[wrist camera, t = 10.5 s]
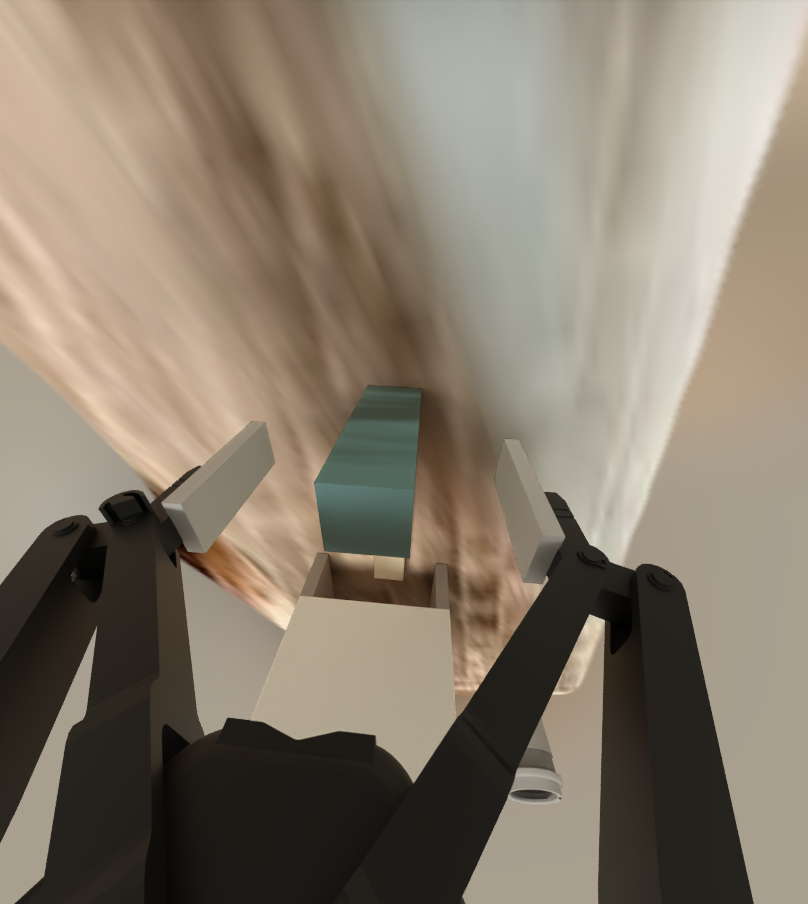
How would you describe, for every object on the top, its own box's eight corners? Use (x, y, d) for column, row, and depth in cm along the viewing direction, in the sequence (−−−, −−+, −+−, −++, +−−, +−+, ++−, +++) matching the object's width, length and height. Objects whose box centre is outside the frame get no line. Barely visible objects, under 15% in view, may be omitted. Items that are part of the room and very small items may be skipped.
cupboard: (313, 550, 32) (146, 944, 13) (451, 562, 31) (483, 995, 13) (323, 608, 38) (216, 944, 19) (440, 619, 37) (452, 979, 18)
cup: (532, 680, 43) (564, 807, 33) (485, 680, 44) (502, 804, 34) (533, 655, 40) (570, 789, 29) (482, 656, 41) (500, 785, 30)
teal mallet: (367, 385, 22) (314, 482, 12) (421, 388, 22) (414, 490, 12) (372, 563, 32) (345, 697, 22) (408, 566, 32) (399, 703, 22)
